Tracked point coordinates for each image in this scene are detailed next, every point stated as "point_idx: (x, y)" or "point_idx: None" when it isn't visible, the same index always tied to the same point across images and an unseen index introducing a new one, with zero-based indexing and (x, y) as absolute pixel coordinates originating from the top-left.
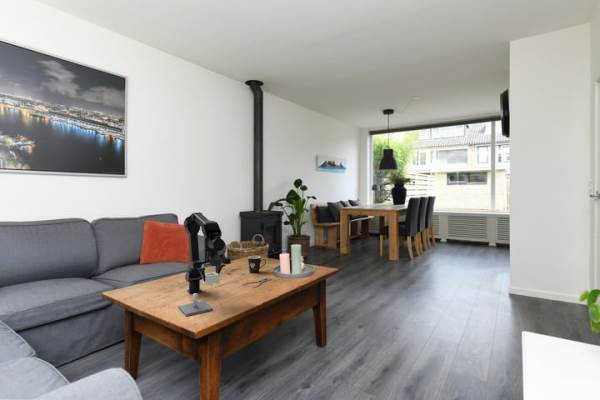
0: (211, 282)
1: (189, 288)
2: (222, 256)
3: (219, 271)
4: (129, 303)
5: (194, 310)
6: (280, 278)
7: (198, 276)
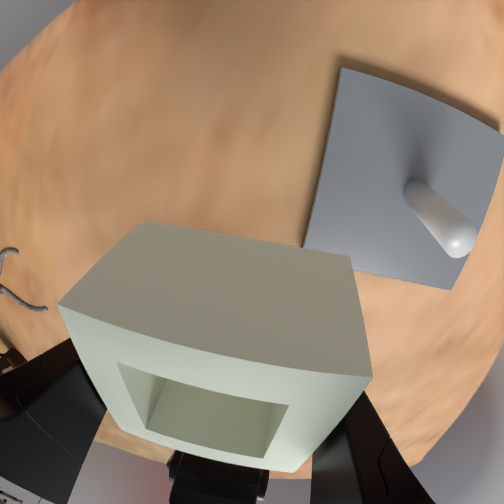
0: (271, 256)
1: None
2: None
3: (36, 371)
4: (459, 412)
5: (455, 140)
6: None
7: None
